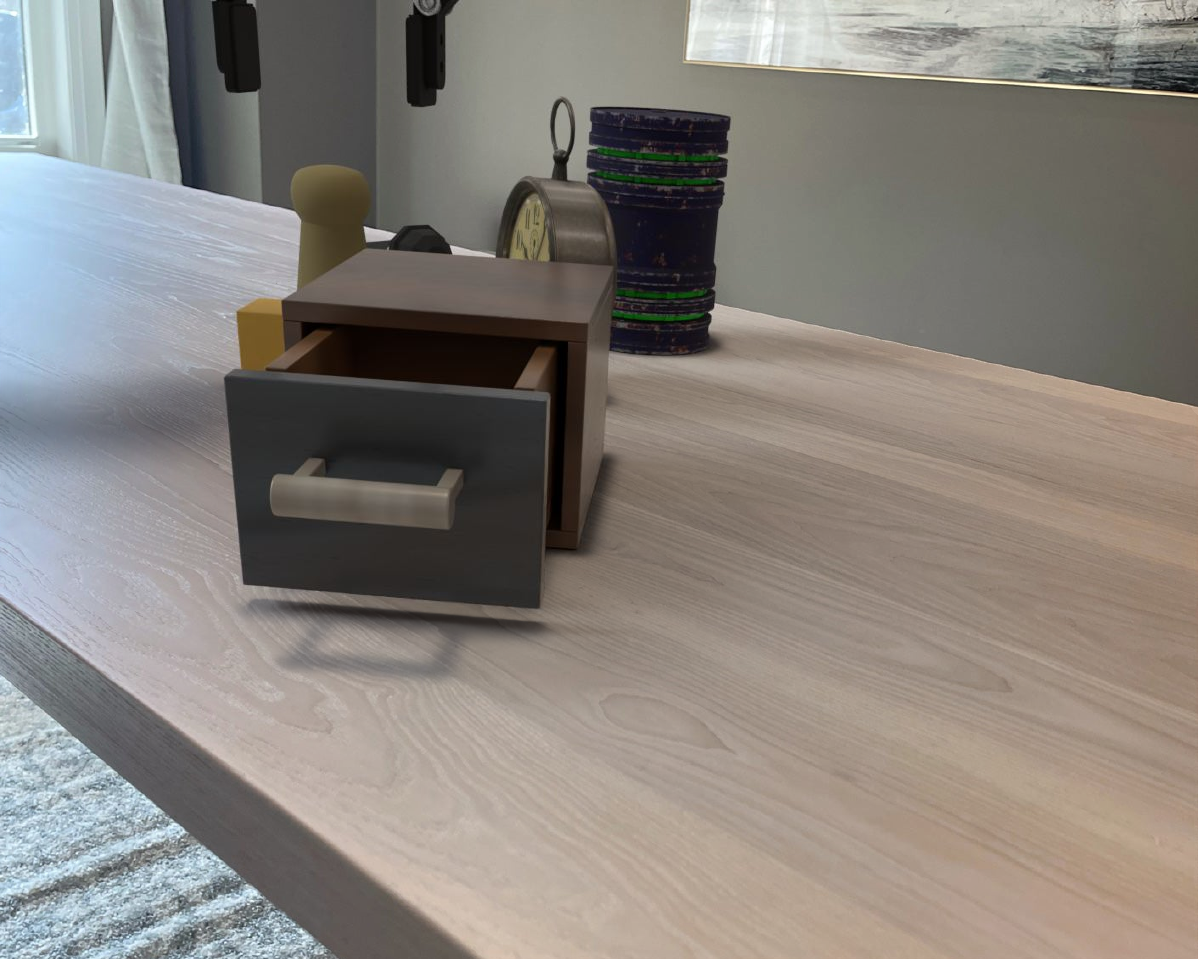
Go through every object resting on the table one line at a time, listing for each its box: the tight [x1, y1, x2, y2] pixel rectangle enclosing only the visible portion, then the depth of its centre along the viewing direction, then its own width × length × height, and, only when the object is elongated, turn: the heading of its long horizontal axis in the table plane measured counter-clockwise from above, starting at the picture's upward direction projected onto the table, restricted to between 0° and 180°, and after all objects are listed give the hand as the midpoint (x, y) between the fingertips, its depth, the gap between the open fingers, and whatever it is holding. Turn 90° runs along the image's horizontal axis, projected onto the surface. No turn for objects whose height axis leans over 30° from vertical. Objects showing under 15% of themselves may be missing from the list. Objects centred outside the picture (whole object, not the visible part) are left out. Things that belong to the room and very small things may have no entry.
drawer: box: [223, 323, 566, 610], centre depth 51 cm, size 18×11×8 cm, turn 175°
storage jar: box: [585, 106, 732, 356], centre depth 92 cm, size 10×10×15 cm
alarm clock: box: [494, 95, 617, 319], centre depth 78 cm, size 11×5×16 cm, turn 21°
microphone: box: [366, 224, 454, 255], centre depth 108 cm, size 6×6×20 cm
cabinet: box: [281, 248, 614, 550], centre depth 61 cm, size 15×13×10 cm
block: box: [235, 297, 285, 371], centre depth 78 cm, size 4×4×4 cm
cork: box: [289, 164, 372, 291], centre depth 87 cm, size 6×6×11 cm
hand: (332, 98), depth 67 cm, fingers open, 9 cm apart
